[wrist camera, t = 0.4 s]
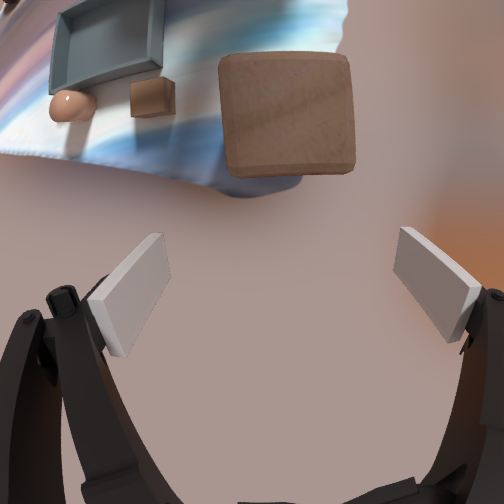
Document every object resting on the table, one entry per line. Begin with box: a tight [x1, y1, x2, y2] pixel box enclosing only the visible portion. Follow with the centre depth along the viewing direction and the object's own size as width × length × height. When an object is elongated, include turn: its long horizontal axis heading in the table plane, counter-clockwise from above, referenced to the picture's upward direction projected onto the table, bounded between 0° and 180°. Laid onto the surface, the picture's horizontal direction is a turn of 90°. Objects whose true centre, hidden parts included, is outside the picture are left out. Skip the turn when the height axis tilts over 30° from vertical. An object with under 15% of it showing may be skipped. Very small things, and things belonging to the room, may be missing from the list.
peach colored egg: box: [49, 90, 97, 122], centre depth 31 cm, size 5×5×7 cm
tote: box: [49, 0, 166, 95], centre depth 26 cm, size 17×19×5 cm
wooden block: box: [218, 51, 356, 178], centre depth 26 cm, size 10×10×20 cm
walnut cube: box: [130, 77, 176, 118], centre depth 32 cm, size 5×5×5 cm
